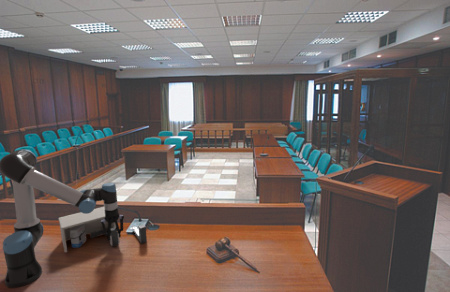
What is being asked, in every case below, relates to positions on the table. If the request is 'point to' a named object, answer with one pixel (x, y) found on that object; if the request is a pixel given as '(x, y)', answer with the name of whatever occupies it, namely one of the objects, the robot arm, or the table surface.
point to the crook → (100, 232)
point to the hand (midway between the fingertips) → (114, 243)
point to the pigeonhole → (89, 221)
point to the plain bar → (140, 233)
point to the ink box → (77, 235)
